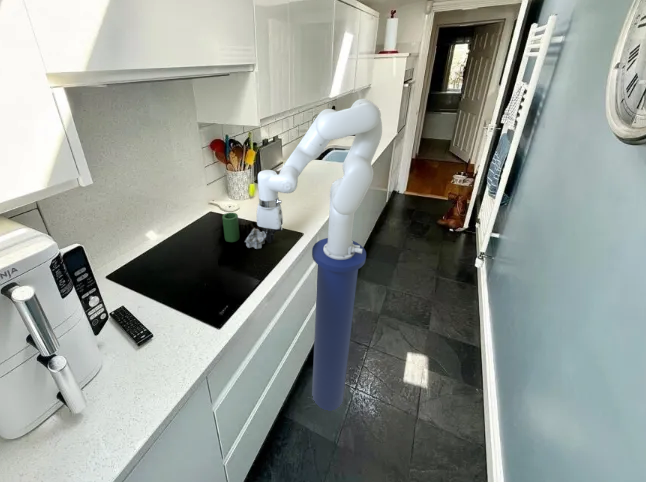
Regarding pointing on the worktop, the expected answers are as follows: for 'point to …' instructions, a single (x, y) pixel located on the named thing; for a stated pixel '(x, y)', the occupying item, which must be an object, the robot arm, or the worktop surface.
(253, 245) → the egg carton
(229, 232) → the green hollow cylinder
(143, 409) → the worktop surface
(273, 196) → the robot arm
